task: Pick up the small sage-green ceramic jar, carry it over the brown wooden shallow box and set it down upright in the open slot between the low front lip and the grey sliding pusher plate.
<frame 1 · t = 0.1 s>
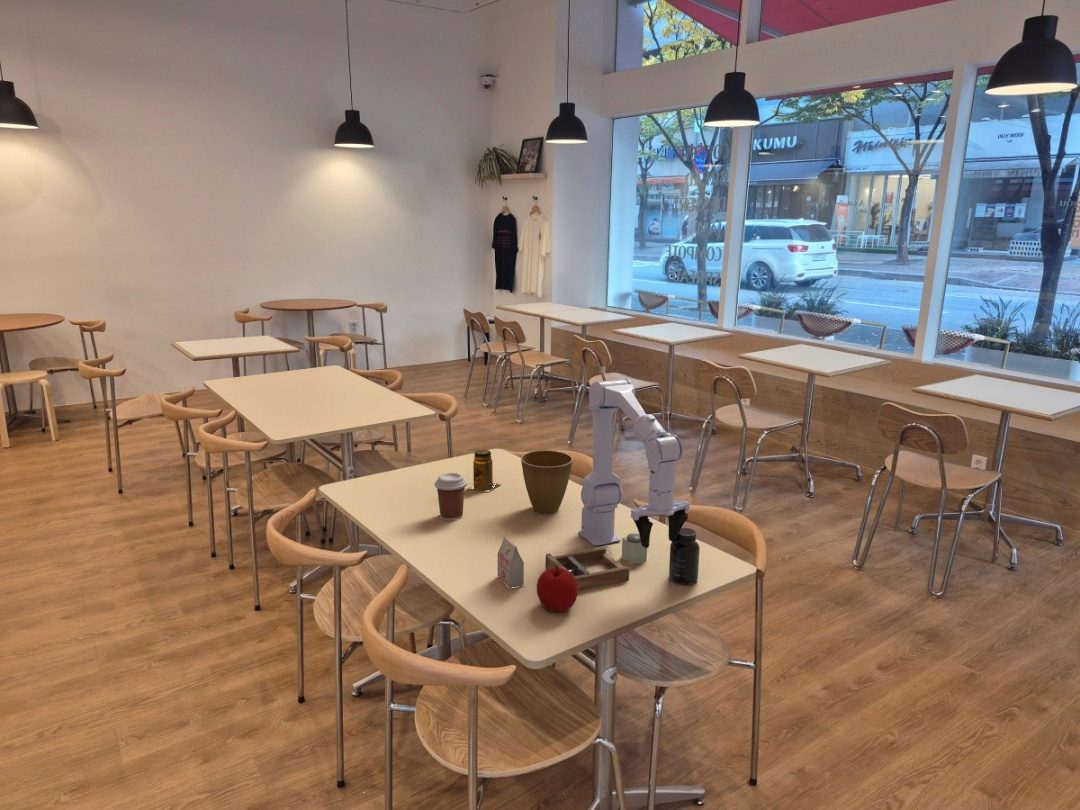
hand: (658, 543, 169), 10 cm above the table, tool pointing down, fingers open, 7 cm apart
milk carton: (510, 582, 172), on the table
condiment: (485, 487, 233), on the table
apple: (557, 607, 160), on the table
coffee cup: (451, 516, 209), on the table
plant pot: (546, 510, 215), on the table
jar: (634, 558, 184), on the table
supplement bottle: (682, 579, 173), on the table, touching gripper
pusher plate: (571, 571, 173), point 1 cm above the table, slide at 0.0 cm
brown wooden shallow box: (586, 574, 175), on the table
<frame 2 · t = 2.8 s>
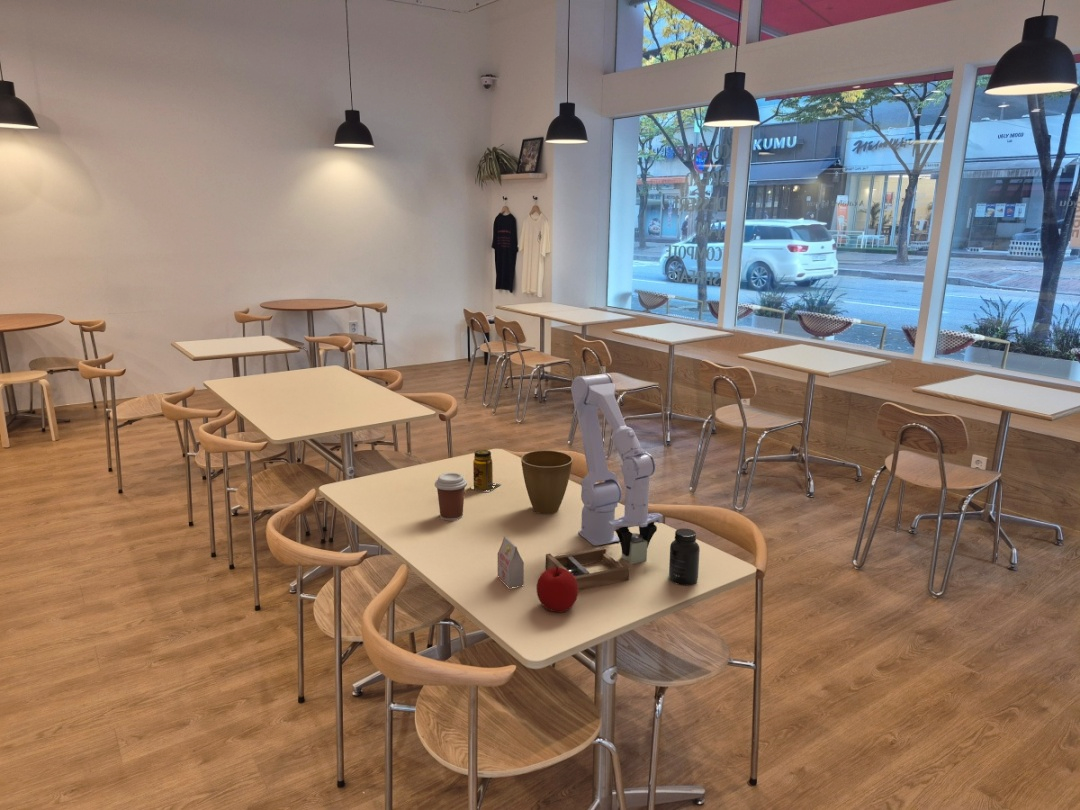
hand: (634, 552, 183), 2 cm above the table, tool pointing down, fingers closed on jar, 4 cm apart
jar: (634, 558, 184), on the table, touching gripper
supplement bottle: (682, 579, 173), on the table
everything else where it was.
when the fingers open (3 cm above the table, at t = 8.4 s): jar drops 2 cm, resting in brown wooden shallow box.
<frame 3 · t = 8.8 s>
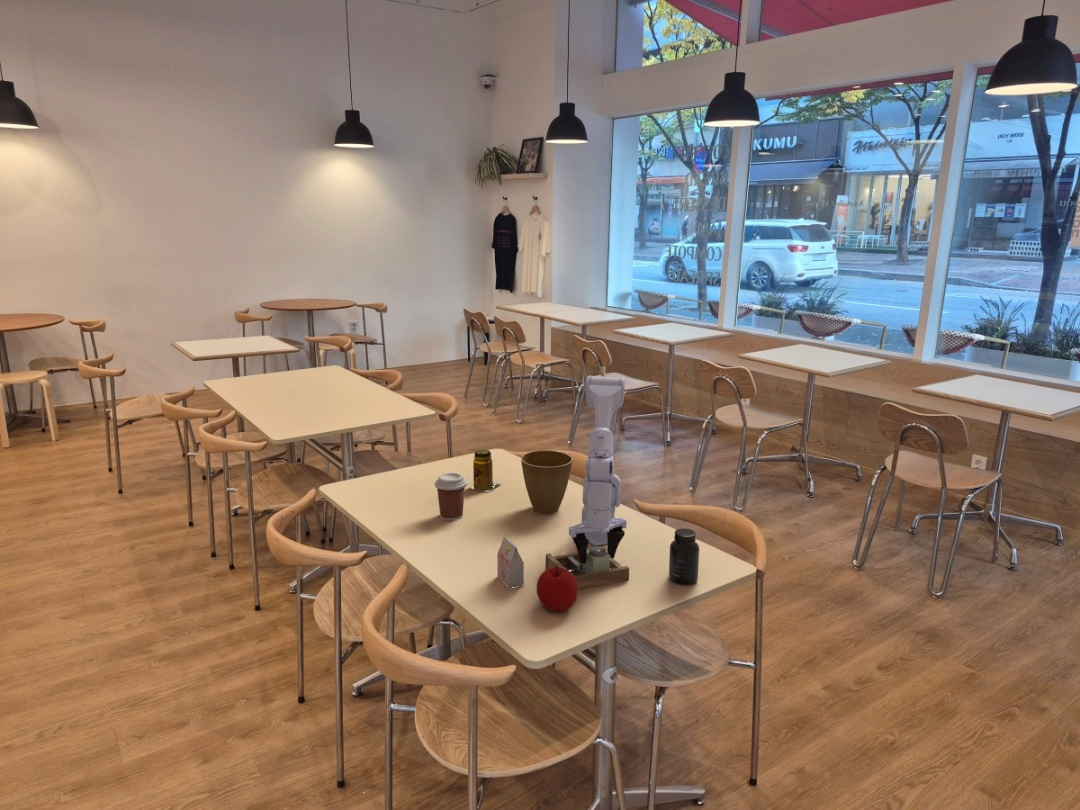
hand: (596, 559, 175), 3 cm above the table, tool pointing down, fingers open, 7 cm apart
jar: (596, 572, 176), resting in brown wooden shallow box
everything else where it was.
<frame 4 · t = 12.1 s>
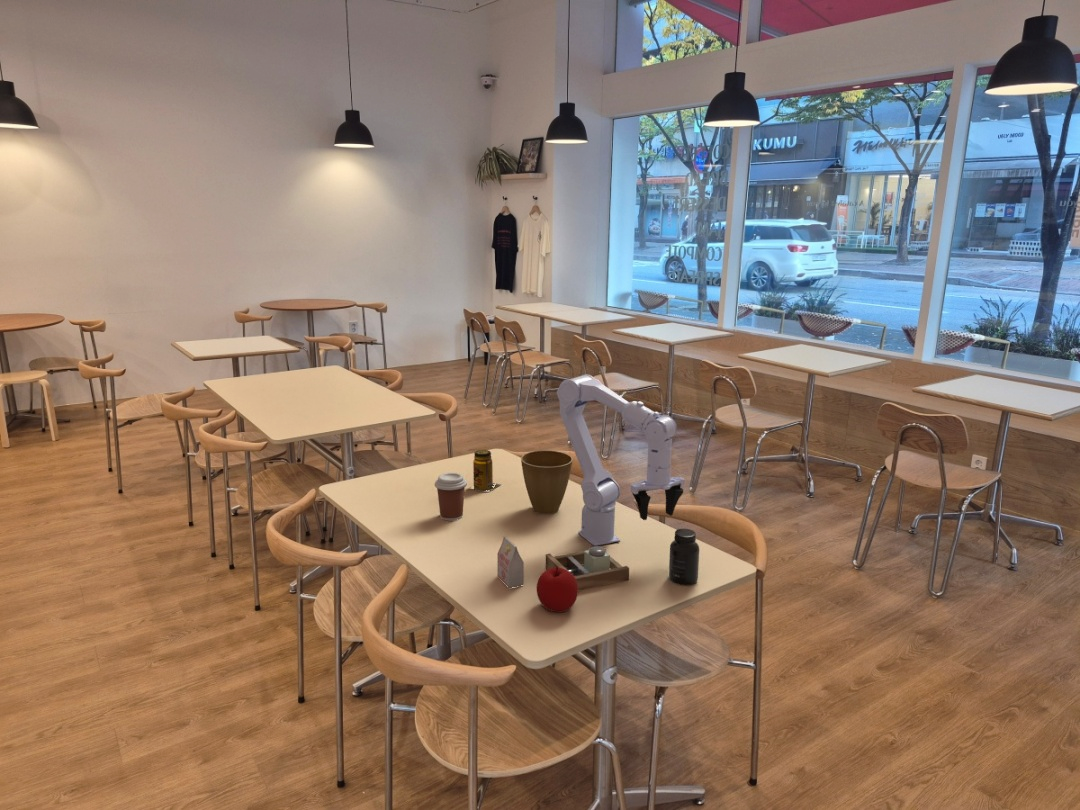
hand: (656, 516, 184), 10 cm above the table, tool pointing down, fingers open, 7 cm apart
nothing on the table moved.
at the end: jar inside the target area (0.1 cm from its centre), resting in brown wooden shallow box; jar tilted 0°; the gripper is holding nothing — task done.
